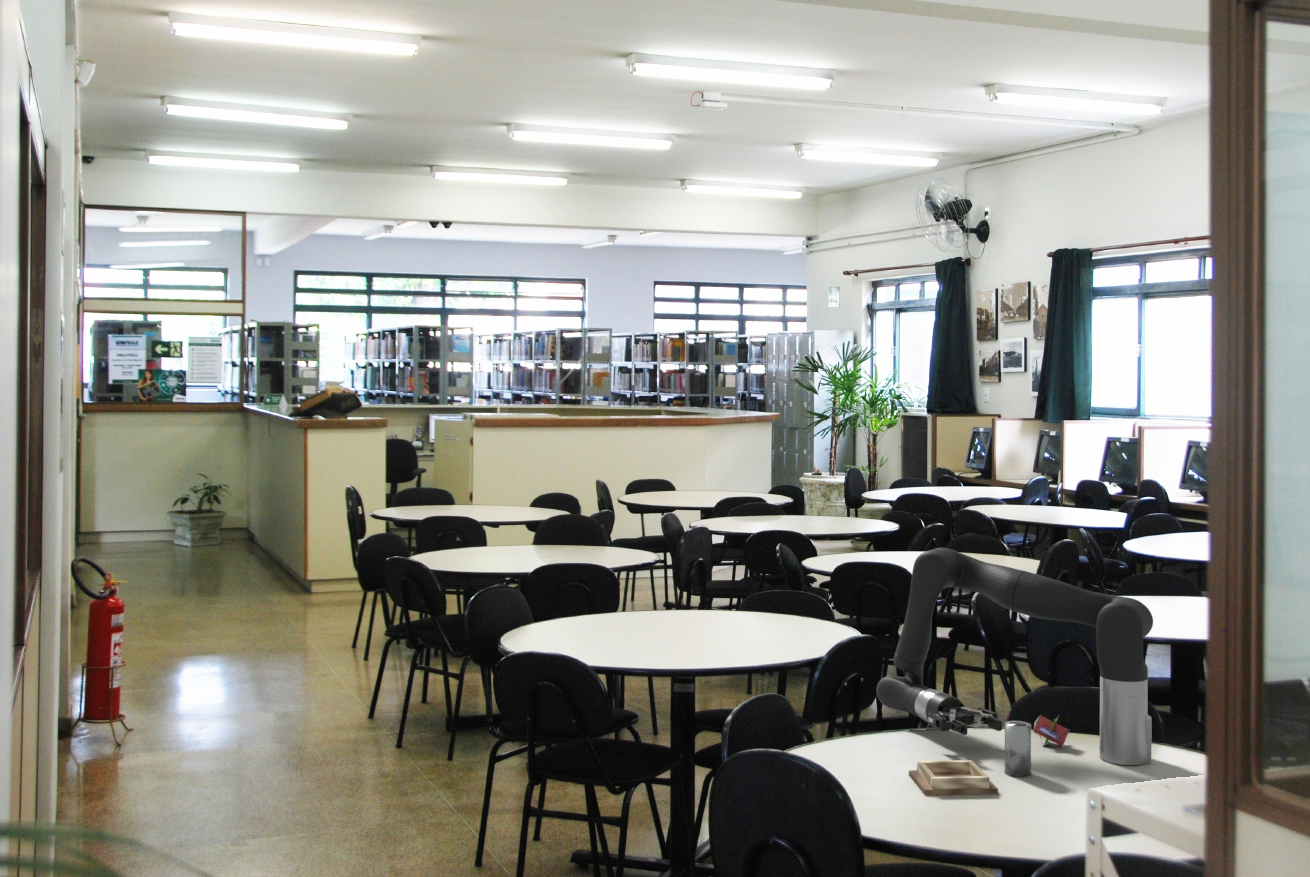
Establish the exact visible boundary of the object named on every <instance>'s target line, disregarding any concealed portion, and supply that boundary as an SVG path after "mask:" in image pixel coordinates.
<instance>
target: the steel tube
mask: <svg viewBox="0 0 1310 877" xmlns="http://www.w3.org/2000/svg"><path fill="white" fill-rule="evenodd" d="M1004 774H1005V775H1006V776H1009V777H1012V778H1020V779H1021V778H1029V777H1031V776H1032V724H1031V723H1030V722H1028V721H1022V720H1009V721H1004Z"/></svg>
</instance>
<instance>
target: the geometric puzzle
mask: <svg viewBox="0 0 1310 877" xmlns="http://www.w3.org/2000/svg"><path fill="white" fill-rule="evenodd" d="M1058 719H1059V720H1058ZM1061 719H1062V718H1061V715H1060V714H1059V715H1056V717H1054V718H1053V719H1052V718H1049V717H1048V716H1046V715H1041V714H1040V715H1039V716H1038V717H1037V718H1036V719H1035V721H1033V722H1034V723H1033V731H1032V732H1033V733H1034V734H1036V736H1039V737H1040V741H1041V745H1042V747H1043V748H1044V747H1048V748H1049V747H1053V748H1054V747H1056V746H1057V747H1061V748H1063V747H1064V746H1063V745H1064V744H1065V742H1066V739H1067V737H1068V734H1069V732H1070V729H1069V728H1067V727H1066V726H1067V725H1066V723H1064V725H1063V724H1062V722H1060V721H1062V720H1061ZM1042 739H1043V740H1044V741H1045V742H1044V744H1043V741H1042ZM1049 744H1053V745H1055V746H1051V745H1050V746H1048V745H1049Z"/></svg>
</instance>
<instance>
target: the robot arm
mask: <svg viewBox="0 0 1310 877" xmlns="http://www.w3.org/2000/svg"><path fill="white" fill-rule="evenodd" d="M911 573H912V574H911V581H910V589H909V596H908V602H907V609H906V613H905V617H904V622H903V626H902V630H901V633H900V636H899V639H898V642H897V646H896V648H895V652H894V656H893V664H894V666H895V667H896V669H898V670H900V671H902V672H904V673H905V676H896V675H895V676H893V675H889V676H884V677H882V678H881V679H879V681H878V683H877V684H876V691H875V693H876V696H877V699H878V701H879V702H880V703H881V704H882V705H883V706H885V707H887V708H890V709H893V710H896V711H901V712H906V713H909V714H912V715H913V716H915V717H917V718H920V719H921V720H922V721H924V722H926V723H927V724H928V725H929V726H930V727H932V728H934V729H936V730H938V731H940V732H946V731H947V732H956V733H959V735H962V736H967V735H968V727H972V728H978V729H979V728H981V727H988V728H989V729H992V730H995V731H997V732H1001V731H1002V730H1003V721H1002V720H1000V719H998V718H999V717H998V715H999V714H998V713H997V712H994V711H993V710H989V709H986V708H983V707H977V709H971V708H969V707H965V705H964V703H963V702H962V701H961V699H959V698H958V697H955V696H954V695H951V694H948V693H946V692H943V691H941V690H937V689H933V688H930V687H928V686H925V685H924V681H923V680H924V666H925V663H926V660H927V656H928V653H929V651H930V646H931V642H932V635H933V633H932V632H933V631H932V629H933V628H932V627H933V625H932V624H933V614H934V609H935V606H936V604H937V601H938V599H939V597H940V595H941V593H942V591H943V590H945V589H946V588H957V589H960V590H961V589H962V590H967V591H970V592H975V593H978V594H980V595H982V596H984V597H987V599H989V600H991V601H993V602H994V603H995V604H997V605H999V606H1000V607H1003V608H1005V609H1007V610H1010V611H1012V612H1015V613H1018V614H1021V615H1025V616H1028V617H1032V618H1035V619H1042V620H1047V621H1048V620H1049V621H1059V622H1070V623H1079V624H1084V625H1087V626H1090V627H1092V628H1095V630H1096V632H1095V633H1096V634H1095V636H1096V637H1095V638H1096V639H1095V640H1096V641H1095V642H1096V660H1097V664H1098V667H1099V758H1100V759H1101V760H1103V761H1105V762H1106V763H1107V762H1108V763H1111V764H1115V765H1120V766H1121V765H1122V766H1123V765H1124V766H1141V765H1144V764H1148V763H1149V764H1151V763H1152V728H1153V727H1152V726H1153V724H1152V716H1151V715H1149V714H1148V702H1149V701H1148V692H1149V691H1148V690H1149V689H1148V687H1149V686H1148V681H1149V679H1148V678H1149V675H1148V674H1149V671H1148V670H1149V667H1148V665H1147V664H1146V662H1145V660H1144V638H1145V637H1147V636H1148V634H1149V633H1150V632H1151V630H1152V629H1153V626H1154V618H1153V615H1152V613H1151V611H1150V609H1149V608H1148V607H1147V606H1146V605H1145V604H1144V603H1143V602H1141V601H1140V600H1138V599H1136V598H1135V599H1134V598H1132V597H1128V596H1127V597H1125V596H1119V595H1115V594H1107V593H1101V592H1096V591H1091V590H1087V589H1085V588H1081V587H1079V586H1075V585H1073V584H1070V583H1067V582H1063V581H1061V580H1057V579H1054V578H1052V577H1051V578H1050V577H1047V576H1044V575H1041V574H1037V573H1033V572H1029V571H1025V570H1023V569H1017V568H1013V567H1010V566H1005V565H999V564H994V563H989V562H985V561H982V560H979V559H977V558H974V557H972V556H970V555H967V554H964V553H962V552H960V551H957V550H955V549H951V548H948V547H937V548H933V549H930V550H926V551H924V552H922V553H920V554H919V555H918V556H917V557H916V559H915V560H914V564H913V568H912V572H911ZM975 718H976V723H975Z"/></svg>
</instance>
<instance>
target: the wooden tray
mask: <svg viewBox="0 0 1310 877" xmlns="http://www.w3.org/2000/svg"><path fill="white" fill-rule="evenodd" d="M908 777H909V778H910V779H911V780H912V781H913V783H914V784H915V785H916V786H917V787H918V788H919V790H920V791H921V793H922V794H923V795H924V796H960V795H961V796H962V795H964V796H965V795H967V796H968V795H998V794H999V788H998V787H997V786H996V785H995V784H994V783H993V782H992V781H991V780H990V776H988V775H987V774H986V773H985V772H984V770H982V769H981V767H980V766H978V765H977V764H976V763H975V762H974V761H973V759H971V760H970V759H966V760H962V759H960V760H957V759H956V760H916V770H914V769H913V770H908Z"/></svg>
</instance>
